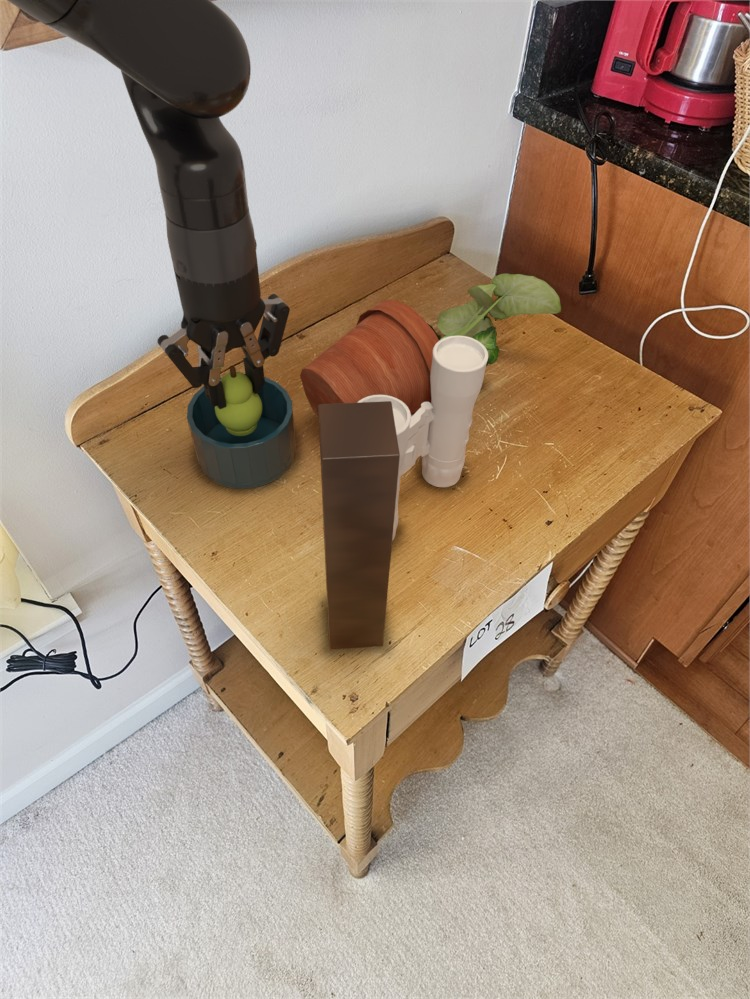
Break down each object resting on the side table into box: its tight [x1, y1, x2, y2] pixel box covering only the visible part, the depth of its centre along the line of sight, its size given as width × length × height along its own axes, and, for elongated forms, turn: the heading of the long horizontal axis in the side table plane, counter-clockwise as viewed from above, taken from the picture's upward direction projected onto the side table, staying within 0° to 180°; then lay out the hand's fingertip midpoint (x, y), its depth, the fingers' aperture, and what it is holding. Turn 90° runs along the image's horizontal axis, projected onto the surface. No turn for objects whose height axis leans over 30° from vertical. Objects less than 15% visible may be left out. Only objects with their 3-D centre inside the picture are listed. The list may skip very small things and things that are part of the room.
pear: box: [215, 365, 262, 436], centre depth 77 cm, size 5×5×9 cm
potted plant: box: [299, 272, 562, 419], centre depth 87 cm, size 16×15×35 cm
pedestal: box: [318, 401, 400, 651], centre depth 59 cm, size 5×5×28 cm
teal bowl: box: [186, 376, 297, 490], centre depth 81 cm, size 12×12×7 cm
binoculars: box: [357, 335, 488, 542], centre depth 73 cm, size 17×5×18 cm, turn 138°
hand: (236, 395), depth 76 cm, fingers closed on pear, 3 cm apart
